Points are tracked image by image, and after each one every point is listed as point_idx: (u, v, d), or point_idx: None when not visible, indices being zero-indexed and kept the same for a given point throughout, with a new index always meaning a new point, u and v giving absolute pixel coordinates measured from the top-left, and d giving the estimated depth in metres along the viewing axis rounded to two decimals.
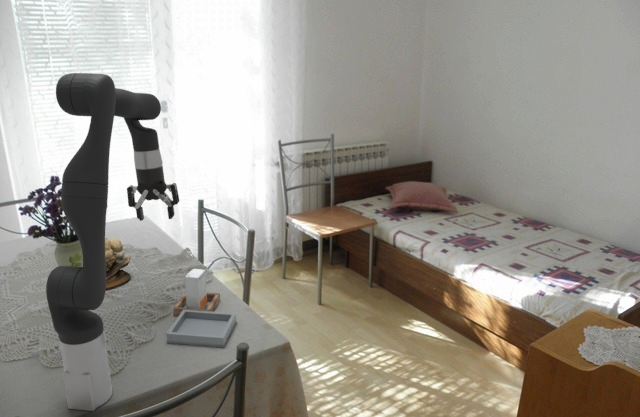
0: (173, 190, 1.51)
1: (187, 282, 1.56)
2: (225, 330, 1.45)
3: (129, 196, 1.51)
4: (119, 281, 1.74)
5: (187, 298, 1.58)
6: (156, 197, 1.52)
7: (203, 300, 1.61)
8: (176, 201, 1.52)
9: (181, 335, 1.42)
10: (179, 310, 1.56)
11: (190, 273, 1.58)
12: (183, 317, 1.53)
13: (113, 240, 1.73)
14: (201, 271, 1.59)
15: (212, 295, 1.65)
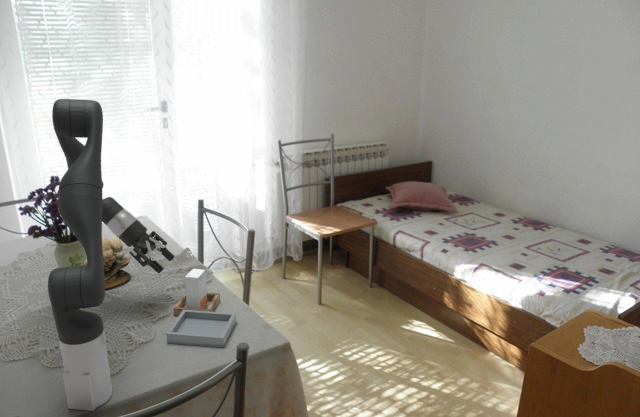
0: (156, 234, 1.62)
1: (187, 282, 1.56)
2: (225, 330, 1.45)
3: (141, 253, 1.50)
4: (119, 281, 1.74)
5: (187, 298, 1.58)
6: (154, 245, 1.58)
7: (203, 300, 1.61)
8: (165, 241, 1.63)
9: (181, 335, 1.42)
10: (179, 310, 1.56)
11: (190, 273, 1.58)
12: (183, 317, 1.53)
13: (113, 240, 1.73)
14: (201, 271, 1.59)
15: (212, 295, 1.65)
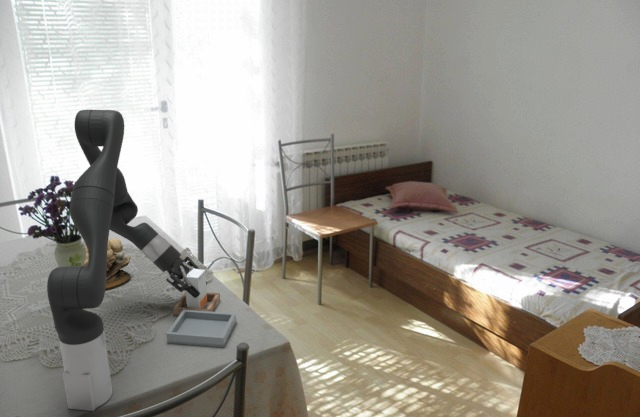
0: (190, 260, 1.64)
1: None
2: (225, 330, 1.45)
3: (178, 280, 1.52)
4: (119, 281, 1.74)
5: (187, 298, 1.58)
6: (187, 270, 1.59)
7: (203, 300, 1.61)
8: (198, 267, 1.64)
9: (181, 335, 1.42)
10: (179, 310, 1.56)
11: (190, 273, 1.57)
12: (183, 317, 1.53)
13: (113, 240, 1.73)
14: (201, 271, 1.59)
15: (212, 295, 1.65)
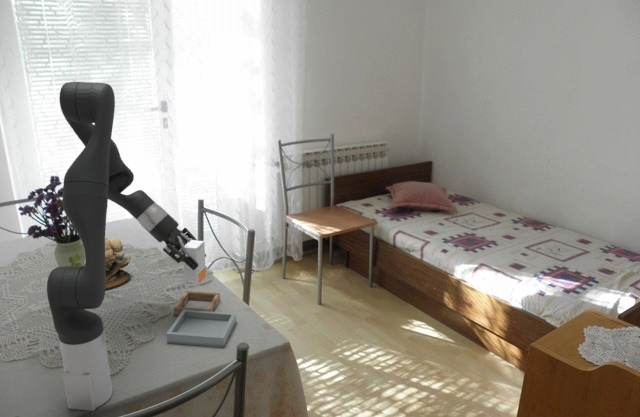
0: (188, 231, 1.56)
1: None
2: (225, 330, 1.45)
3: (176, 250, 1.44)
4: (119, 281, 1.74)
5: (185, 270, 1.50)
6: (185, 241, 1.51)
7: (202, 273, 1.53)
8: None
9: (181, 335, 1.42)
10: (179, 310, 1.56)
11: (188, 244, 1.50)
12: (183, 317, 1.53)
13: (113, 240, 1.73)
14: (200, 242, 1.51)
15: (212, 295, 1.65)
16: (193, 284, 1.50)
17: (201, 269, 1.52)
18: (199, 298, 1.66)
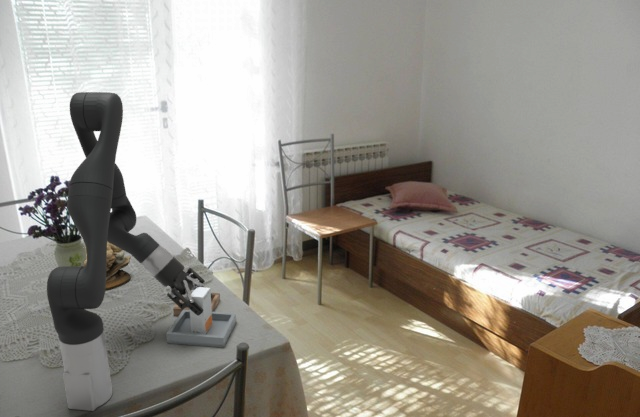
0: (193, 272, 1.50)
1: None
2: (225, 330, 1.45)
3: (180, 295, 1.38)
4: (119, 281, 1.74)
5: (191, 319, 1.45)
6: (191, 284, 1.46)
7: (208, 321, 1.48)
8: (202, 279, 1.51)
9: (181, 335, 1.42)
10: (179, 310, 1.56)
11: (194, 292, 1.45)
12: (183, 317, 1.53)
13: None
14: (206, 289, 1.46)
15: None
16: (200, 333, 1.46)
17: (208, 317, 1.47)
18: None
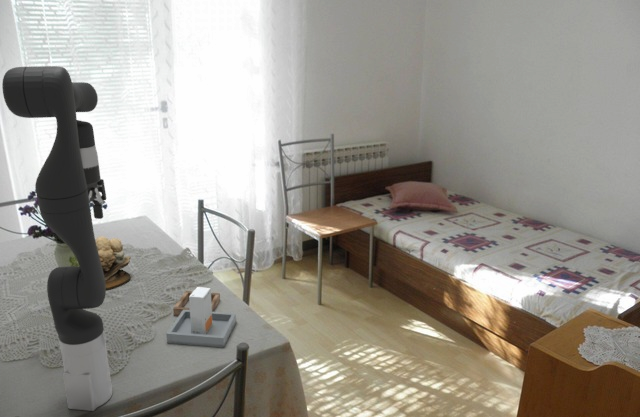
0: (103, 185, 1.40)
1: (191, 302, 1.43)
2: (225, 330, 1.45)
3: None
4: (119, 281, 1.74)
5: (191, 319, 1.45)
6: (93, 197, 1.36)
7: (208, 321, 1.48)
8: (105, 196, 1.41)
9: (181, 335, 1.42)
10: (179, 310, 1.56)
11: (194, 292, 1.45)
12: (183, 317, 1.53)
13: (113, 240, 1.73)
14: (206, 290, 1.46)
15: (212, 295, 1.65)
16: (200, 333, 1.46)
17: (208, 317, 1.47)
18: None
